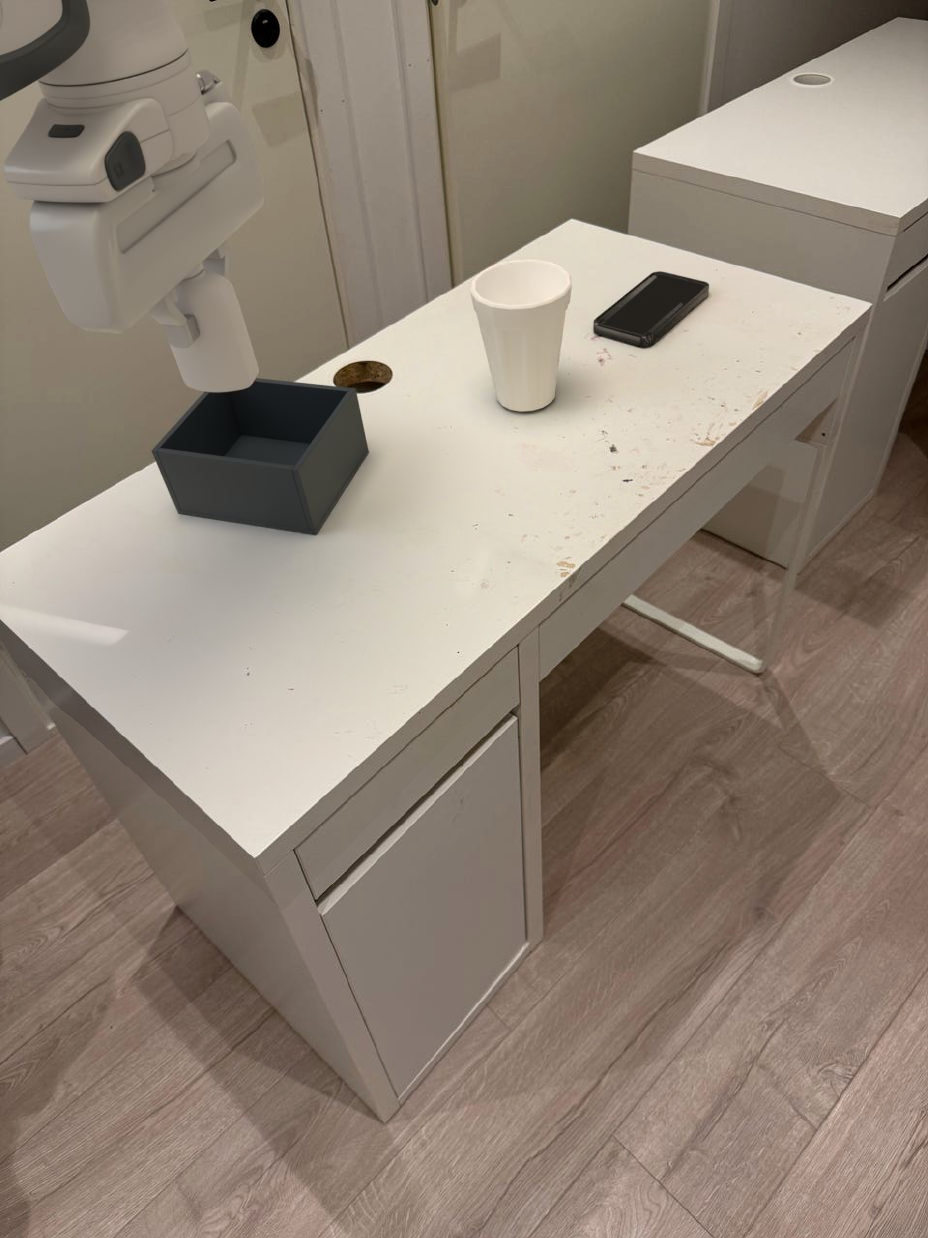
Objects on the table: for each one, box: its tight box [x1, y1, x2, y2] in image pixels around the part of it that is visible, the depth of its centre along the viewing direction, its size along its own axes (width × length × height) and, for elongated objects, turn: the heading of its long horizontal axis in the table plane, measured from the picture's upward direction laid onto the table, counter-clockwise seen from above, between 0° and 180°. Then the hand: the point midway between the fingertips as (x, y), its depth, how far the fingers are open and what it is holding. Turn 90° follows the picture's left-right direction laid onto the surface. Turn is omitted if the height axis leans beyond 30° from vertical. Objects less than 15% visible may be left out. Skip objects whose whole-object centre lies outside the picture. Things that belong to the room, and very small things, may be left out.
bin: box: [151, 377, 370, 536], centre depth 87 cm, size 15×13×8 cm
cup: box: [469, 258, 573, 412], centre depth 91 cm, size 10×10×13 cm
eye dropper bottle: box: [168, 262, 260, 392], centre depth 63 cm, size 4×6×12 cm
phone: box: [592, 271, 710, 348], centre depth 105 cm, size 8×1×15 cm
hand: (203, 325), depth 64 cm, fingers closed on eye dropper bottle, 3 cm apart
